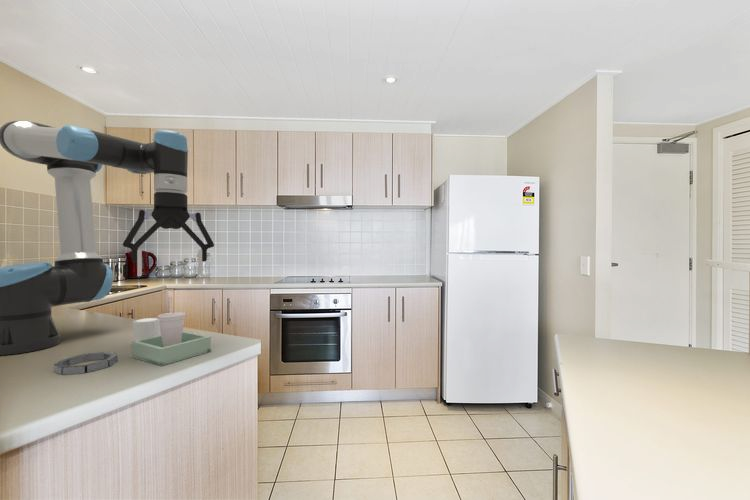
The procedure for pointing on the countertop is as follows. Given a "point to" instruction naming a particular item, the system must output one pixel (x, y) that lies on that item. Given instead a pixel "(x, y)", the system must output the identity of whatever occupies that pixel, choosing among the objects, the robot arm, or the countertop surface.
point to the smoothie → (171, 326)
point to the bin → (170, 348)
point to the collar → (65, 369)
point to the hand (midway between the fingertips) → (171, 274)
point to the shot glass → (146, 328)
